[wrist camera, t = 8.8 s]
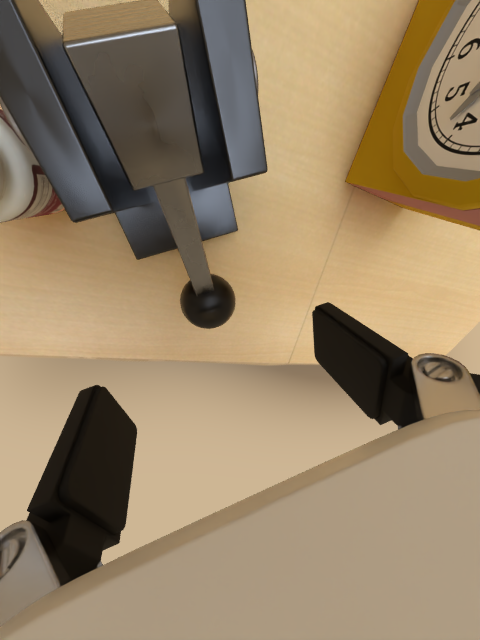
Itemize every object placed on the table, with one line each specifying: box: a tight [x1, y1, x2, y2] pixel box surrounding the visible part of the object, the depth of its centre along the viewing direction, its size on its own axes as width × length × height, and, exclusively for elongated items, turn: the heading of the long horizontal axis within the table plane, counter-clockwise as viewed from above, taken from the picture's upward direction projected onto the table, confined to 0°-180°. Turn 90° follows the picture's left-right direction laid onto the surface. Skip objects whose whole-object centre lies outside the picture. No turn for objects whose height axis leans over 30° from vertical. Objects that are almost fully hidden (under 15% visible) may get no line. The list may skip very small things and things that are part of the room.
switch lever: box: [62, 0, 235, 329], centre depth 11 cm, size 13×4×4 cm
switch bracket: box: [0, 0, 267, 260], centre depth 10 cm, size 11×8×13 cm
